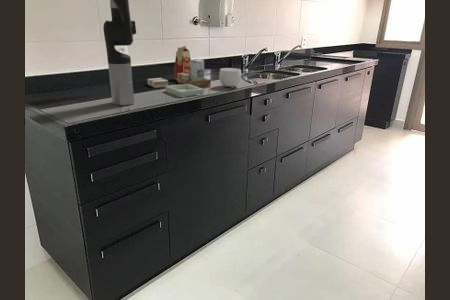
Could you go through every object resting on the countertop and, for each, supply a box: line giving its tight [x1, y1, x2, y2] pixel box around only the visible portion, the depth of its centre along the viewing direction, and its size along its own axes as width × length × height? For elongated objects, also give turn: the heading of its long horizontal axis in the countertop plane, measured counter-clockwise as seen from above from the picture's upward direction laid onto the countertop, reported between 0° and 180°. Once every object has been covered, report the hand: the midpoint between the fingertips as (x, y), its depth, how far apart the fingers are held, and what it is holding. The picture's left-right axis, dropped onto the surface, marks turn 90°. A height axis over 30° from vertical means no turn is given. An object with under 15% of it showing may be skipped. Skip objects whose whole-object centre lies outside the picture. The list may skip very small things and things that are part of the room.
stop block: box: [177, 73, 190, 84], centre depth 184 cm, size 8×4×5 cm, turn 37°
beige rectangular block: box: [147, 77, 169, 89], centre depth 176 cm, size 10×8×4 cm
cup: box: [218, 67, 242, 88], centre depth 176 cm, size 12×12×10 cm
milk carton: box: [174, 45, 192, 81], centre depth 192 cm, size 9×9×20 cm
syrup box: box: [190, 58, 205, 81], centre depth 175 cm, size 6×6×14 cm
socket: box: [183, 77, 211, 89], centre depth 177 cm, size 11×11×4 cm
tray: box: [164, 83, 205, 98], centre depth 160 cm, size 16×13×3 cm
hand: (122, 43), depth 155 cm, fingers open, 8 cm apart
